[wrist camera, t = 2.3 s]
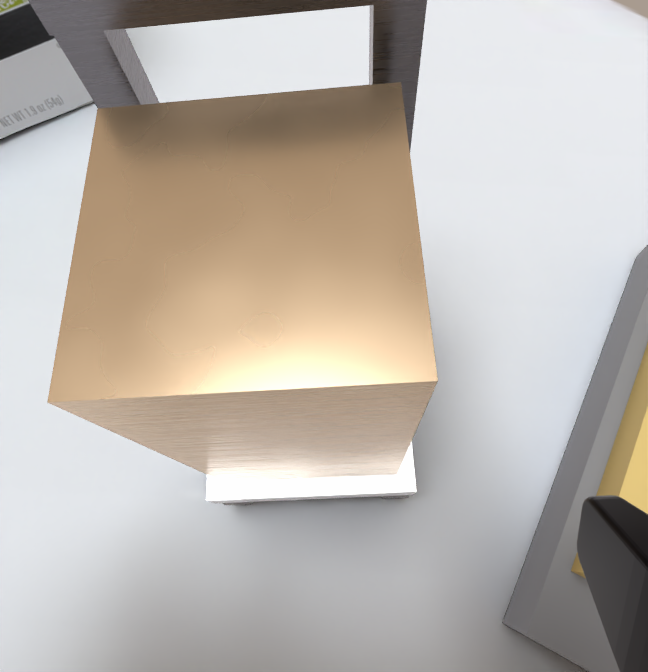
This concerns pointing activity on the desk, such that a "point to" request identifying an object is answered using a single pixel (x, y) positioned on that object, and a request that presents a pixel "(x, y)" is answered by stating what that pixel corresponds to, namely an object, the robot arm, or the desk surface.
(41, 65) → the tea box
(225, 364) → the trolley
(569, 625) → the dock
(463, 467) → the desk surface
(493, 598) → the desk surface
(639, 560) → the robot arm
